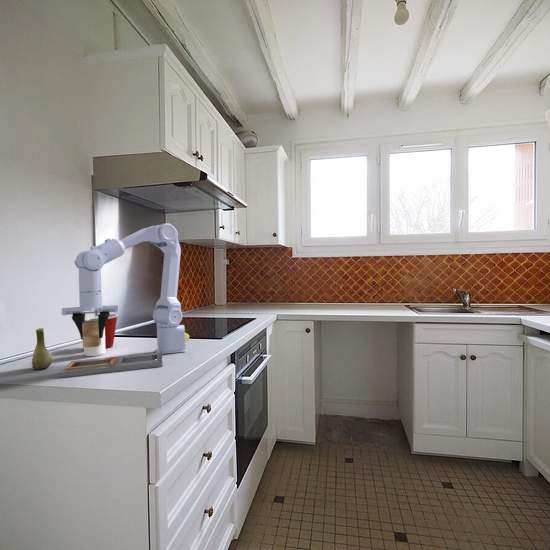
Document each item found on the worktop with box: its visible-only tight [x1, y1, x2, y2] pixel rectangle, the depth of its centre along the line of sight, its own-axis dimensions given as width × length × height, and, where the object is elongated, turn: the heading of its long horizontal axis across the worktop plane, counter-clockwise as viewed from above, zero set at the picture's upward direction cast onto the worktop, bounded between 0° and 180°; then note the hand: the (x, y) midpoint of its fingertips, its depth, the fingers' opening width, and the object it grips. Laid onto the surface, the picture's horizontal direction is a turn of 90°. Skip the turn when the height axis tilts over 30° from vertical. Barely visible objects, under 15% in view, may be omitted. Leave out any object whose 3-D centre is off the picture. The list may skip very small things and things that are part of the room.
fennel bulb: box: [31, 327, 53, 370], centre depth 100 cm, size 6×5×12 cm
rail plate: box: [59, 352, 164, 379], centre depth 100 cm, size 26×12×2 cm, turn 109°
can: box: [83, 319, 107, 358], centre depth 115 cm, size 6×6×12 cm
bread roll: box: [185, 332, 190, 342], centre depth 135 cm, size 8×9×4 cm
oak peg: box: [82, 320, 101, 349], centre depth 97 cm, size 4×4×7 cm
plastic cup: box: [85, 313, 119, 349], centre depth 125 cm, size 11×11×12 cm
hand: (92, 338), depth 98 cm, fingers closed on oak peg, 4 cm apart
